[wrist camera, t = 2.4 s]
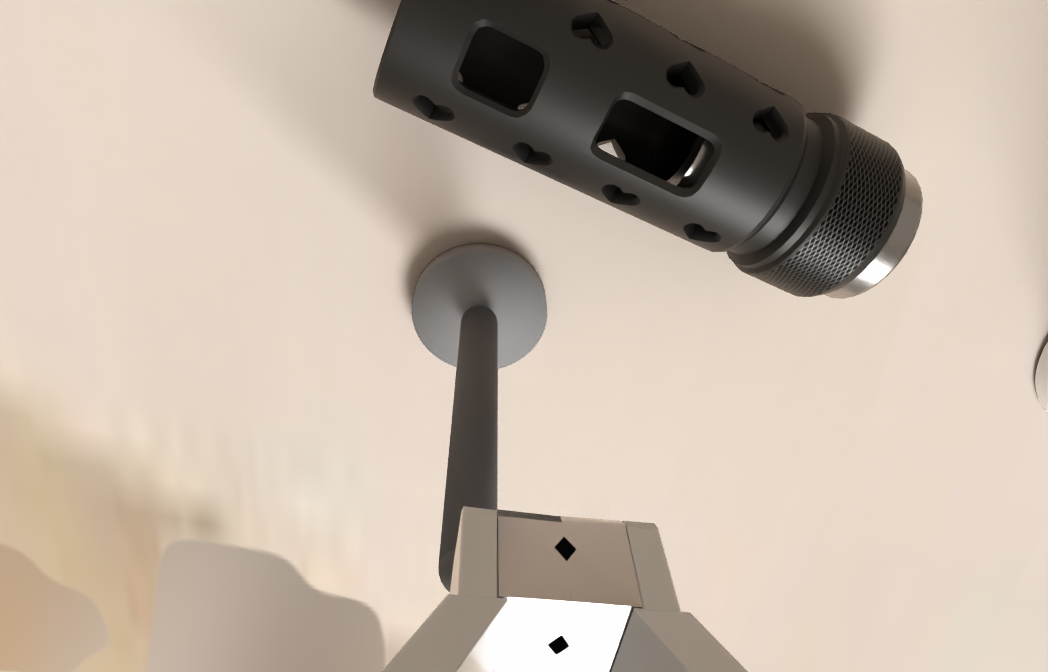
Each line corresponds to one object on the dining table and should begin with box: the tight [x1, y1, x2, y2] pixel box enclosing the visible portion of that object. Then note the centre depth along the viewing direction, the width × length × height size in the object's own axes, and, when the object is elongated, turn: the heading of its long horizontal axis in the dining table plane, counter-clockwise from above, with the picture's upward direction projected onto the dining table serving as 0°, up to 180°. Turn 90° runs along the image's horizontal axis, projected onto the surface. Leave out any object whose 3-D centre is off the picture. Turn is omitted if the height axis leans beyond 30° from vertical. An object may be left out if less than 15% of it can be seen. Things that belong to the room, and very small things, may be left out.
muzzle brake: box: [373, 0, 923, 298], centre depth 38 cm, size 10×28×10 cm, turn 64°
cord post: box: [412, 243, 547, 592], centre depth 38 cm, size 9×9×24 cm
